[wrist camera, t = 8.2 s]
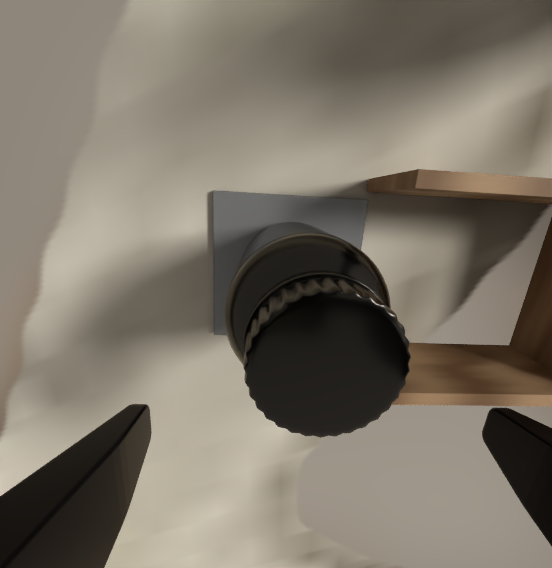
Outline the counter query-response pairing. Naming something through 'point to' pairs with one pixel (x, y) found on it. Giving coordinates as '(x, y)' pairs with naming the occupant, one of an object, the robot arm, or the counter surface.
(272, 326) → the supplement bottle
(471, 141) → the counter surface
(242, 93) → the counter surface
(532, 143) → the counter surface
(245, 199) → the mat
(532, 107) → the counter surface
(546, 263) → the open box
